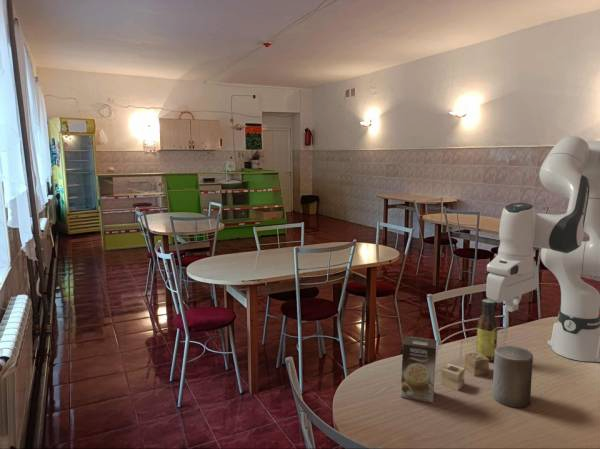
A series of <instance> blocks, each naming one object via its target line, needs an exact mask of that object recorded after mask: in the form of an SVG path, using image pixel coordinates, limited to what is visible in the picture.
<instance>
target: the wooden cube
mask: <svg viewBox="0 0 600 449" xmlns="http://www.w3.org/2000/svg"><path fill="white" fill-rule="evenodd" d="M489 365H490V361H489V359H488V358H487V357H485V356H484V355H482V354H481V353H477V352H471V353H465V355H464V368H465V370H466V371H467V372H468V373H469V374H471V375H472V376H473V377H476V376H484V375H485V376H486V375H489V370H490V366H489Z"/></svg>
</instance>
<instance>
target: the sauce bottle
mask: <svg viewBox="0 0 600 449" xmlns="http://www.w3.org/2000/svg"><path fill="white" fill-rule="evenodd" d="M481 306H482V307H481V308H482V309H481V314H480V316H479V317H478V320H477V326H476V327H477V329H476V351H475V353H481V354H482V355H484V356H485V357H487V358H488V359H489V362H492V361H493V362H494V355H495V351H494V350H495V348H496V347H498V346H497V345H498V329H499V325H498V321H497V318H496V314H495V307H496V302H493V301H490V300H488V298H485V299H482V300H481Z"/></svg>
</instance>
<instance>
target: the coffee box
mask: <svg viewBox="0 0 600 449" xmlns="http://www.w3.org/2000/svg"><path fill="white" fill-rule="evenodd" d="M436 355H437V340H436V339H433V338H431V339H430V338H427V337H419V336H412V335H406V334H405V335H404V338H403V342H402V355H401V356H402V358H401V359H402V360H401V380H400V395H399V396H400V397H402V398H407V399H410V400H412V399H413V400H416V401H422V402H428V403H434V392H435V391H434V390H435V374H436V360H437V359H436V358H437V357H436Z"/></svg>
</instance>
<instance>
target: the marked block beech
mask: <svg viewBox="0 0 600 449" xmlns="http://www.w3.org/2000/svg"><path fill="white" fill-rule="evenodd" d="M465 370H466V369H465V367H461V366H457V365H454V364H451V363H447V364H446V365H445V366H444V367H443V368H442V369H441V373H440V375H441V377H440V386H442V387H446V388H449V389H452V390H454V391H457V392H458V391H459V390H460V389H461V388H462V387H463V386H464V385H465V374H466V373H465V372H466V371H465Z"/></svg>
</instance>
